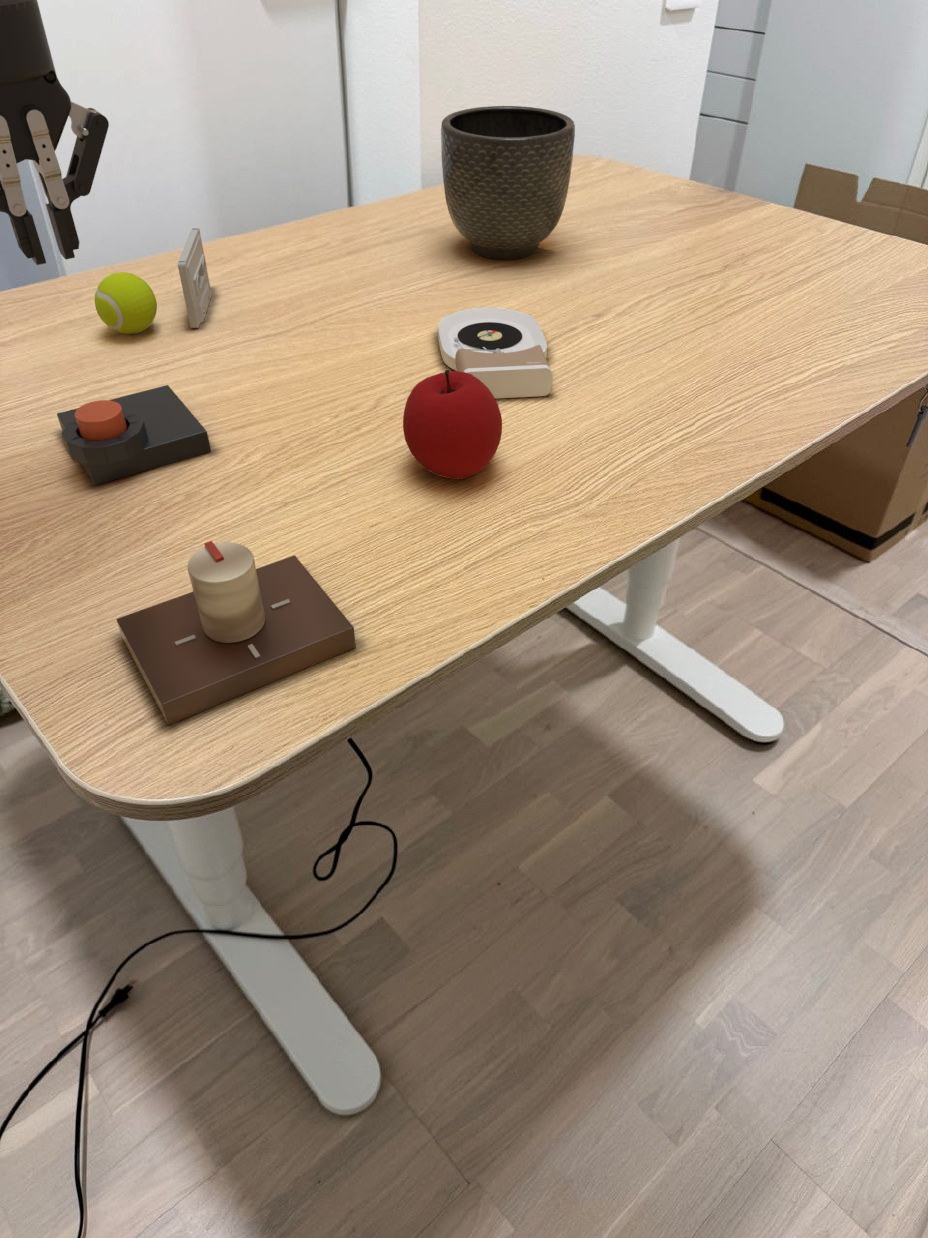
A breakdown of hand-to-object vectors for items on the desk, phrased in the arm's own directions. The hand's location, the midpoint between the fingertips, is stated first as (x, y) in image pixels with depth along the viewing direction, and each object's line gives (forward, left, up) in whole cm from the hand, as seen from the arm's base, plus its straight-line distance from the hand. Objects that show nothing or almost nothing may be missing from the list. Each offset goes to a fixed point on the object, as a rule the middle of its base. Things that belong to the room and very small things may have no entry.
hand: (52, 257), depth 71 cm
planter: (+62, +27, -19) cm, 71 cm away
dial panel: (0, -29, -19) cm, 35 cm away
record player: (+42, 0, -19) cm, 47 cm away
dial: (+1, -29, -17) cm, 34 cm away
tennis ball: (+10, +28, -19) cm, 36 cm away
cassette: (+20, +30, -19) cm, 41 cm away
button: (0, 0, -15) cm, 15 cm away
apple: (+26, -17, -19) cm, 37 cm away
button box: (+3, +3, -19) cm, 20 cm away
